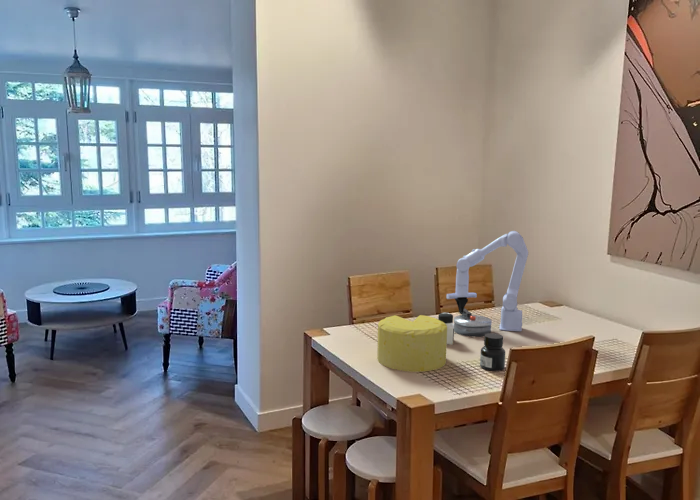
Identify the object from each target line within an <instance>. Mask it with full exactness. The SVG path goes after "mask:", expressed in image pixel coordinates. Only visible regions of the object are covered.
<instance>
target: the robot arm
mask: <svg viewBox="0 0 700 500" xmlns="http://www.w3.org/2000/svg"><path fill="white" fill-rule="evenodd" d="M508 246H509V247H510V248H512V249H513V251H514V252H515V254H516V258H515V261H514V265H513V268H512V273H511V276H510V279H509V283H508V287H507V290H506V293H505V294H504V295H503V297H502V307H501V309H500V324H499V327H498V328H499V330H500V331H508V332H509V331H512V332H522V330H523V328H522V327H523V310H521V309H518V294H519V289H520V286H521V282H522V278H523V275H524V272H525V267H526V263H527V260H528V256H529V250H528V247H527V245H526V243H525V240H524V237H523V236H522V235H521V234H520V232H518V231H516V230H510V231H509V232H508V233H504V234H503V235H501V236H500V237H498V238H496V239H495V240H493V241H492V242H490V243H489V244H487V245H486V246H484V247H483V248H476V249H475V248H473V249H472V250H471V251H470V253H468V254H466V255H465V254H464V255H463V256H462V257H461V258H459V259H458V260H457V262H456V266H455V267H456V275H455V292H453V293H446V299H447V300H453V299H454V300H455V302H456V305H457V308H458V313H459V315H462V314H463V310H464V308H465V307H466V305H467V303H468V302H469V298H474V299H475V298H477V293H476V292H469V282H470V274H469V273H470V271H469V269H470V267H475V265H477V264H479V263H481V262H482V261H483V260H485V257H486V255H488V254H490V253H491V252H493V251H495V250H497V249H499V248H500V247H506V248H508Z"/></svg>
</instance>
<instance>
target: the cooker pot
mask: <svg viewBox="0 0 700 500" xmlns="http://www.w3.org/2000/svg"><path fill="white" fill-rule="evenodd" d="M453 324H454V334H455V333H456V335H461V336H465V337H470V338H471V337H472V338H474V337H475V338H484V335H485V334H488V333H492V332H491V331H492V324H491V325H490V326H487V327H466V326H461V325H458V324H456V323H455V322H454V321H453Z"/></svg>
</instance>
